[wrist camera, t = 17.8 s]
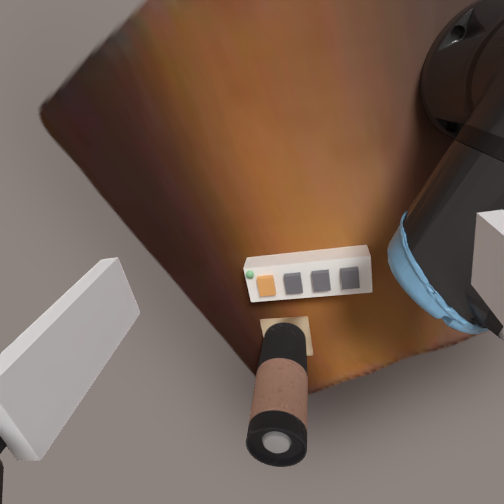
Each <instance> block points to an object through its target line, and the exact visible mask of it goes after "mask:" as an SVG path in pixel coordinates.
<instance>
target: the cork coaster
mask: <svg viewBox="0 0 504 504" xmlns="http://www.w3.org/2000/svg"><path fill="white" fill-rule="evenodd" d="M281 322H286V323H291V324H294V325H296V326H298V327H299V328H300V329H301V330H302V331H303V332H304V334H305V337H306V350H307V356H308V355H313V348H312V342H311V335H310V328H309V321H308V316H301V317H287V318H273V319H260V323H261V328H262V332H263V337H264V336H265V333H266V331H267V329H268V328H269V327H270V326H272V325H274V324H276V323H281Z"/></svg>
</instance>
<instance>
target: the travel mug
mask: <svg viewBox="0 0 504 504" xmlns="http://www.w3.org/2000/svg"><path fill="white" fill-rule="evenodd" d="M307 392H308V374H307V350H306V337H305V334H304V332H303V331H302V330H301V329H300V328H299V327H298V326H296V325H294V324H291V323H286V322H281V323H276V324H274V325H272V326H270V327H269V328H268V329H267V331H266V333H265V336H264V340H263V345H262V349H261V354H260V359H259V364H258V369H257V374H256V381H255V387H254V394H253V401H252V407H251V414H250V420H249V427H248V433H247V439H246V446H247V449H248V451H249V453H250V454H251V455H252V456H253V457H254V458H255V459H257V460H258V461H260V462H262V463H264V464H267V465H271V466H276V467H285V466H292V465H295V464H297V463H299V462H300V461H301V460H303V458H304V457H305V455H306V452H307Z"/></svg>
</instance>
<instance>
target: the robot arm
mask: <svg viewBox="0 0 504 504" xmlns="http://www.w3.org/2000/svg"><path fill="white" fill-rule="evenodd" d="M420 87H421V99H422V103H423V107H424V109H425V112H426V114H427V116H428V118H429V119H430V121H431V122H432V123H433V124H434V125H435V126H436V127H437V128H438V129H439V130H440V131H441V132H443V133H444V134H446V135H448V136H450V137H452V138H454V140H453V142H452V143H451V145H450V146H449V148H448V149H447V151H446V153H445V154H444V156H443V157H442V159H441V160H440V162H439V163H438V165H437V166H436V168H435V170H434V171H433V173H432V174H431V176H430V177H429V179H428V180H427V182H426V183H425V185H424V186H423V188H422V190H421V191H420V193H419V194H418V196H417V197H416V199H415V200H414V202H413V203H412V205H411V206H410V208H409V210H407V211H405V213H404V214H403V216H402V218H401V220H400V225H399V227H398V229H397V230H396V232H395V234H394V235H393V237H392V239H391V241H390V243H389V245H388V249H387V253H388V263H389V266H390V269H391V271H392V273H393V275H394V277H395V278H396V280H397V281H398V283H399V284H400V286H401V287H402V288H403V289H404V291H405V292H406V293H407V294H408V295H409V296H410V297H411V298H412V299H413V300H414V301H415V302H416V303H417V304H418V305H419V306H420V307H421V308H423V309H424V310H425V311H426V312H428V313H429V314H430V315H432V316H433V317H435V318H436V319H440V318H441V319H442V320H443V321H444V322H445V323H446V324H447V326H449V327H451V328H453V329H456V330H458V331H461V332H464V333H469V334H478V333H481V332H485V331H488V330H490V331H492V332H493V333H494V334H495V335H497V336H498V337H499V338H501V339H502V340H504V0H478V1H476V2H474V3H473V4H471V5H469V6H468V7H466V8H465V9H464V10H462V11H461V12H460V13H458V14H457V15H456V16H455V17H454V18H453V19H452V20H451V21H450V22H449V23H448V24H447V25H446V26H445V27H444V28H443V30H442V31H441V32H440V34H439V35H438V36H437V38H436V40H435V41H434V43H433V45H432V46H431V48H430V50H429V52H428V55H427V57H426V60H425V63H424V66H423V70H422V75H421V86H420ZM455 139H456V140H455ZM139 314H140V310H139V308H138V305H137V303H136V301H135V298H134V296H133V293H132V290H131V288H130V286H129V283H128V281H127V278H126V276H125V273H124V271H123V268H122V266H121V263H120V261H119V259H118V257H117V258H109V259H101V260H100V261H99V262H98V263H97V264H96V265H95V266H94V267H93V268H92V269H91V270H90V271H89V272H87V273H86V274H85V275H84V276H83V277H82V278H81V279H80V280H79V281H78V282H77V283H76V284H75V285H73V287H71V288H70V289H69V290H68V291H67V292H66V293H65V294H64V295H63V296H62V297H61V298H60V299H59V300H57V301H56V302H55V303H54V304H53V305H52V306H51V307H50V308H49V309H48V310H47V311H46V312H45V313H44V314H42V315H41V316H40V317H39V318H38V319H37V320H36V321H35V322H34V323H33V324H32V325H31V326H30V327H29V328H27V329H26V330H25V331H24V332H23V333H22V334H21V335H20V336H19V337H18V338H17V339H15V340H14V341H13V342H12V343H11V344H10V345H9V346H8V347H7V348H6V349H5V350H4V351H3V352H2V353H1V354H0V453H1V452H2V451H3V449H4V448H5V447H6V446H7V447H8V449H9V450H10V451H11V453H12V454H13V455H14V457H15V458H16V459H17V460H41V459H42V458H43V456H44V455H45V453H46V452H47V450H48V449H49V447H50V446H51V444H52V443H53V441H54V440H55V439H56V437H57V436H58V434H59V433H60V431H61V430H62V428H63V427H64V425H65V424H66V422H67V421H68V419H69V418H70V416H71V415H72V413H73V412H74V410H75V409H76V407H77V406H78V404H79V403H80V401H81V400H82V398H83V397H84V396H85V394H86V393H87V391H88V390H89V388H90V387H91V385H92V384H93V382H94V381H95V379H96V378H97V376H98V375H99V373H100V372H101V371H102V369H103V367H104V366H105V365H106V363H107V362H108V360H109V359H110V357H111V356H112V354H113V353H114V351H115V350H116V348H117V347H118V345H119V344H120V342H121V341H122V339H123V338H124V336H125V335H126V333H127V332H128V331H129V329H130V328H131V326H132V325H133V323H134V322H135V320H136V318H137V317H138V316H139ZM3 468H4V467H3V464H2V461H1V460H0V504H2V489H3Z"/></svg>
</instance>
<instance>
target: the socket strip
mask: <svg viewBox="0 0 504 504" xmlns="http://www.w3.org/2000/svg"><path fill="white" fill-rule="evenodd" d="M243 269H244V273H245V278H246V282H247V287H248V291H249V295H250V300H251V302H260V301H273V300H285V299H297V298H310V297H322V296H334V295H347V294H359V293H371V292H373V291H372V271H371V255H370V252H369V249H368V246H367V245H359V246H349V247H340V248H331V249H322V250H312V251H303V252H294V253H284V254H275V255H266V256H257V257H247V259H246V262H245V265H244V268H243Z"/></svg>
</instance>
